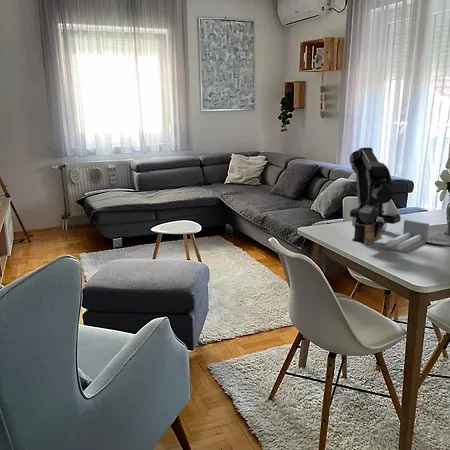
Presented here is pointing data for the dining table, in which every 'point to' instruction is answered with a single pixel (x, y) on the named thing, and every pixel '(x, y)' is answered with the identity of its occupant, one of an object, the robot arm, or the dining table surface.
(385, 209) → the plastic bottle
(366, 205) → the robot arm
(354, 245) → the dining table surface
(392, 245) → the track board
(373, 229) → the door panel
